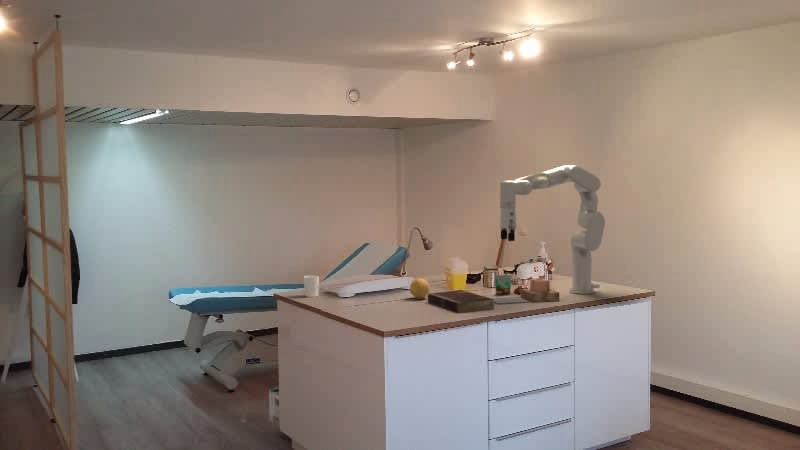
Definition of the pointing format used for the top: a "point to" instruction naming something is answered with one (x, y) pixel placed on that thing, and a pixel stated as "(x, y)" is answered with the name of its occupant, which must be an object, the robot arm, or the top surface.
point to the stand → (539, 295)
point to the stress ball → (419, 288)
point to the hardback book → (461, 301)
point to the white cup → (311, 286)
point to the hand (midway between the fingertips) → (507, 240)
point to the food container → (503, 284)
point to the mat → (509, 300)
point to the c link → (540, 285)
